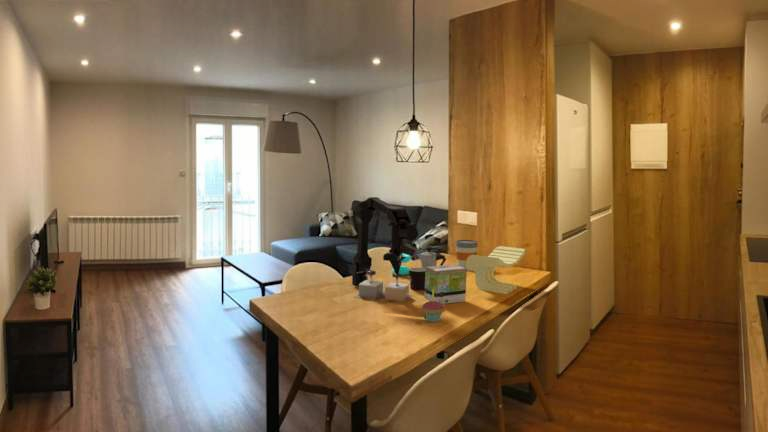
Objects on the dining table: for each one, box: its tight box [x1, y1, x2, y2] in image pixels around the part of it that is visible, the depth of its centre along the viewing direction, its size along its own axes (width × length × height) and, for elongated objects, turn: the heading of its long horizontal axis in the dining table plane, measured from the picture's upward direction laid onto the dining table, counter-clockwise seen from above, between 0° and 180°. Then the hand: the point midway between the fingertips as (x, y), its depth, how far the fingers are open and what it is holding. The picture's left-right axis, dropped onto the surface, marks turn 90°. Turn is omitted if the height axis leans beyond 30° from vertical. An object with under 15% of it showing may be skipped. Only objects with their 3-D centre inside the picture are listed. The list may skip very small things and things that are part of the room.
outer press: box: [384, 282, 410, 301], centre depth 209 cm, size 8×10×6 cm
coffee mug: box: [408, 266, 426, 291], centre depth 225 cm, size 12×9×10 cm
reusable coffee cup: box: [455, 239, 478, 268], centre depth 275 cm, size 13×13×15 cm
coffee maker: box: [416, 246, 447, 269], centre depth 238 cm, size 15×9×18 cm, turn 68°
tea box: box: [423, 263, 468, 305], centre depth 207 cm, size 15×10×15 cm, turn 117°
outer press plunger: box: [391, 273, 403, 286], centre depth 207 cm, size 6×6×7 cm
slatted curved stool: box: [466, 245, 526, 295], centre depth 229 cm, size 30×16×18 cm, turn 142°
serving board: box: [353, 291, 414, 304], centre depth 210 cm, size 23×13×1 cm, turn 69°
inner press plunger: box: [367, 269, 377, 283], centre depth 211 cm, size 6×6×7 cm
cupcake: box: [421, 290, 446, 323], centre depth 181 cm, size 9×8×12 cm
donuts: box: [391, 253, 412, 276], centre depth 258 cm, size 10×10×10 cm
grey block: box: [358, 279, 384, 298], centre depth 213 cm, size 8×10×6 cm
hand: (397, 273), depth 207 cm, fingers closed
